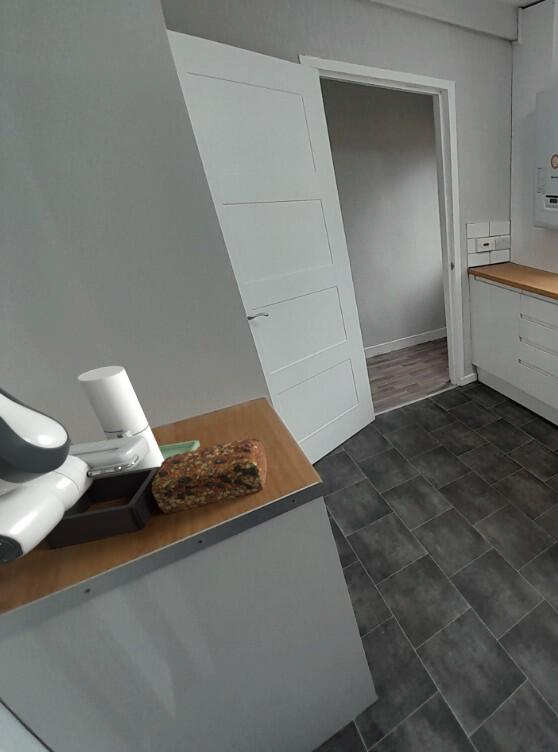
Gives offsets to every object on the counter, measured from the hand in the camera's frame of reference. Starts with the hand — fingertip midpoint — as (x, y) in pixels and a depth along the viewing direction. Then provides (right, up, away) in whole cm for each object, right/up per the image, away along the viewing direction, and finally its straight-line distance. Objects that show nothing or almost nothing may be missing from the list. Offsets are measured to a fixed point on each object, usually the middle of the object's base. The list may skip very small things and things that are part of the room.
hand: (97, 437), depth 81 cm
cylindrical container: (-4, -10, +15) cm, 18 cm away
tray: (-4, -10, +15) cm, 19 cm away
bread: (+18, -13, +10) cm, 24 cm away
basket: (+1, -16, +2) cm, 16 cm away
